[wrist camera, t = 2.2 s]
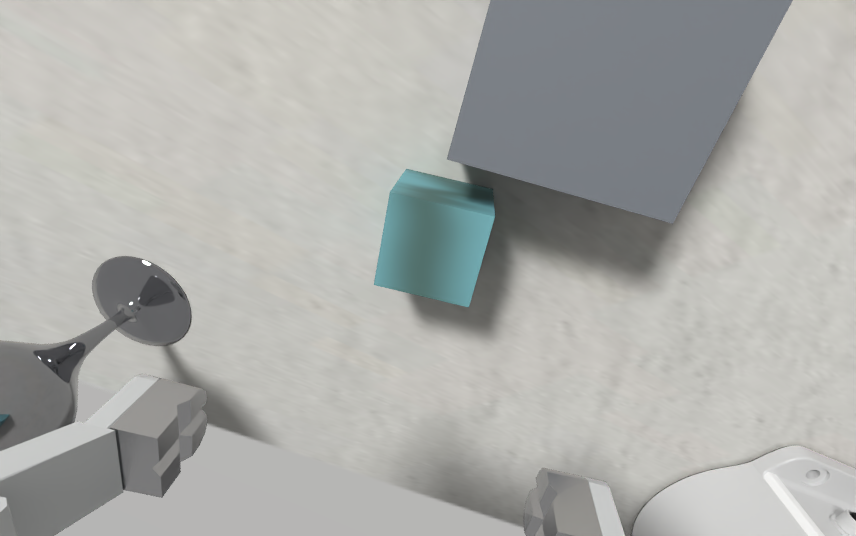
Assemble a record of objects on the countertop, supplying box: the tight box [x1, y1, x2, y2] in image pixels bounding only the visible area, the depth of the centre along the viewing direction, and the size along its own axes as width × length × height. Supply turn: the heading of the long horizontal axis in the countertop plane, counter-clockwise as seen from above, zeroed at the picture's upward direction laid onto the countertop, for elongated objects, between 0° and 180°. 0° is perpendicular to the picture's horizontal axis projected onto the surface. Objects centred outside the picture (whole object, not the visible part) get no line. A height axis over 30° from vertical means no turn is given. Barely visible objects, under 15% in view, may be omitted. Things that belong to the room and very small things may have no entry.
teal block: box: [374, 169, 495, 307], centre depth 24 cm, size 5×5×5 cm
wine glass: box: [0, 256, 191, 451], centre depth 24 cm, size 8×8×15 cm
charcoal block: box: [447, 0, 793, 224], centre depth 19 cm, size 10×10×6 cm
